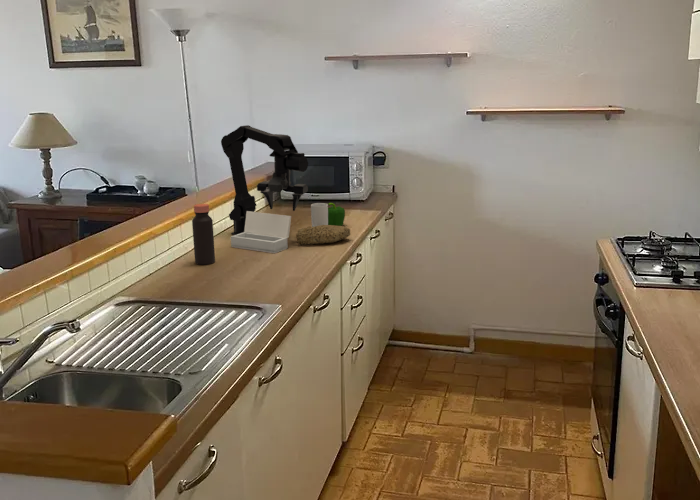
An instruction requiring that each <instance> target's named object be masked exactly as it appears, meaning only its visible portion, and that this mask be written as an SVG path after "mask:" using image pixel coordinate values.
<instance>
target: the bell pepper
mask: <svg viewBox="0 0 700 500" xmlns="http://www.w3.org/2000/svg"><path fill="white" fill-rule="evenodd" d="M328 206H330V207H328V225H335V226H343V224H344V223H345V222H344V221H345V216H346V210H345V207H341V206H339V205H338V206H336V204H335V203H333V202H329V203H328Z"/></svg>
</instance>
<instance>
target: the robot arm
mask: <svg viewBox="0 0 700 500" xmlns="http://www.w3.org/2000/svg"><path fill="white" fill-rule="evenodd" d="M248 139H250V140H252V141H256V142H258V143H262V144H264V145H266V146H267V147H268V148H269V149H271V150H272V152H271V153H270V154H269V157H272V158H274V162H273V163H274V171H273V173H272V178H271V179H270V180H269V181H261V182H259V183H257V185H256V191H258V192H260V194H263V195H264V196H265V199H266V200H267V201H266V202H267V203H268V207H269V209H270V210H273V207H274V198H273V197H274V192H275V193H281V192H282V191H289V192H290V191H291V192H292V194H291V195H292V212H295V211H296V209H297V206H298V203H299V201H300V199H301V197H302V195H305V194H306V193H308V192H309V186H308V185H307V184H305V183H304V184H303V183H297V184H294V185H292V181H291V174H292V171H293V172H301V173H304V172H306V171H307V170H308V167H309V161H308V157H306V156H305V155H306V154H305V153H303V152H298V150H297V148H296V146H295V144H294V142H293V140H292V137H291V136H290V135H288V134H280V133H279V134H277V133H276V134H275V133H270V132H268V131H264V130H261V129H259V128H256V127H253V126H251V125H248V124H247V125H240V126H239V127H237V128H236V129H234V130H233V131H231V132H230V133H228V134H225V135H224V136H222V138H221V140H220V144H221V147H222V151H223V153H224V154H225V156H226V157H227V158H228V161H229V165H230V170H231V172H230V173H231V176H232V182H233V188H234V192H235V194H234V195H235V196H234V198H233V209H232V210H231V211H230V212H229V214H228V216H229V220H230V221H233V231H232V232H231V233H230V234H231V235H237V234H240V233H243V232H244V230H245V221H246V212H247V211H251V212H256V209H257V207H256V206H257V203H256V198H255V195H251V194H250V192H249V190H248V183H247V180H246V174H245V168H244V164H243V163H244V162H243V158H242V155H243V152H244V143H245V142H247V141H248ZM247 233H249V232H247Z"/></svg>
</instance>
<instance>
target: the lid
mask: <svg viewBox="0 0 700 500" xmlns="http://www.w3.org/2000/svg"><path fill="white" fill-rule="evenodd" d="M291 220H292V215H285V214H277V213H269V212H260V211H258V212H257V211H254V212H251V211H247V212H246V221H245V230H244V232H249V233H255V234H262V235H270V236H277V237H285V238H287V239H288V238H289V237H290V230H291V223H292V221H291Z"/></svg>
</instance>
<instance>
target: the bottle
mask: <svg viewBox="0 0 700 500" xmlns="http://www.w3.org/2000/svg"><path fill="white" fill-rule="evenodd" d="M193 211H194V214H195V216H194V217H193V219H192V220H191V225H192V239H193V251H194V252H193V253H194V263H195V265H201V266H204V265H205V266H206V265H212V264H214V263H215V262H216V253H215V252H216V250H215V237H214V235H215V234H214V223H213V222H214V221H213V219H212V217H211V216H210V215H209V214H210V205H209V204H208V203H197V204H194V205H193Z"/></svg>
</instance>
